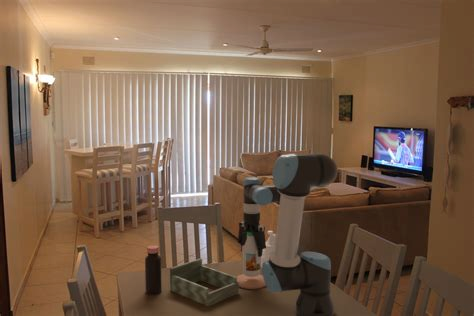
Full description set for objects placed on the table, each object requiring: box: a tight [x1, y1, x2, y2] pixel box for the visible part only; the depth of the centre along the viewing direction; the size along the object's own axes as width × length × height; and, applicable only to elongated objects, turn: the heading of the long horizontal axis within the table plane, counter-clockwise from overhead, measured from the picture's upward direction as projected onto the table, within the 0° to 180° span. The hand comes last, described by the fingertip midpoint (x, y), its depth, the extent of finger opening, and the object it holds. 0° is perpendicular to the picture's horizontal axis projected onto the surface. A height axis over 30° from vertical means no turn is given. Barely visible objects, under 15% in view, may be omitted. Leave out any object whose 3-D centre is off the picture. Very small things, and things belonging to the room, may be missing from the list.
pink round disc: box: [236, 273, 267, 290], centre depth 208 cm, size 15×15×2 cm
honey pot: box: [260, 230, 276, 269], centre depth 229 cm, size 13×13×18 cm
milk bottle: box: [242, 231, 261, 277], centre depth 207 cm, size 8×8×20 cm
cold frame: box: [169, 257, 240, 307], centre depth 197 cm, size 24×18×10 cm
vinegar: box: [144, 244, 162, 295], centre depth 196 cm, size 7×7×20 cm
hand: (251, 261), depth 207 cm, fingers closed on milk bottle, 8 cm apart
